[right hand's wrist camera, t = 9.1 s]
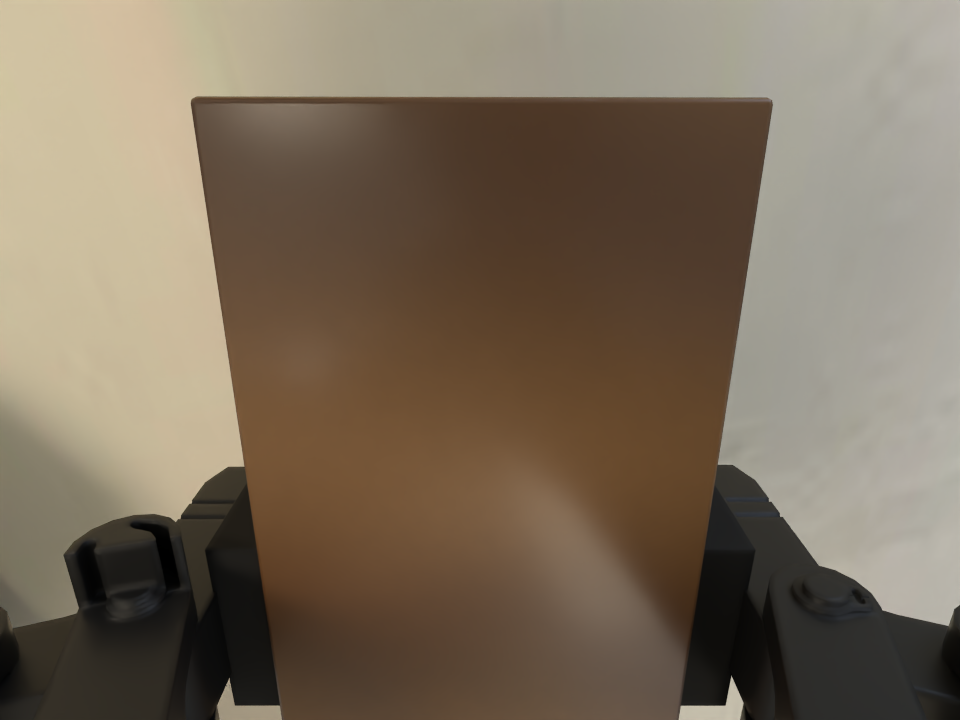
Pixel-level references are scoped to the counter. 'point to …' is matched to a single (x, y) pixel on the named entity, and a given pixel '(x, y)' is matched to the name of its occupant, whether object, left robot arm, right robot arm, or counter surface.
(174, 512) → the counter surface
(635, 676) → the bar
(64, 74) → the counter surface
